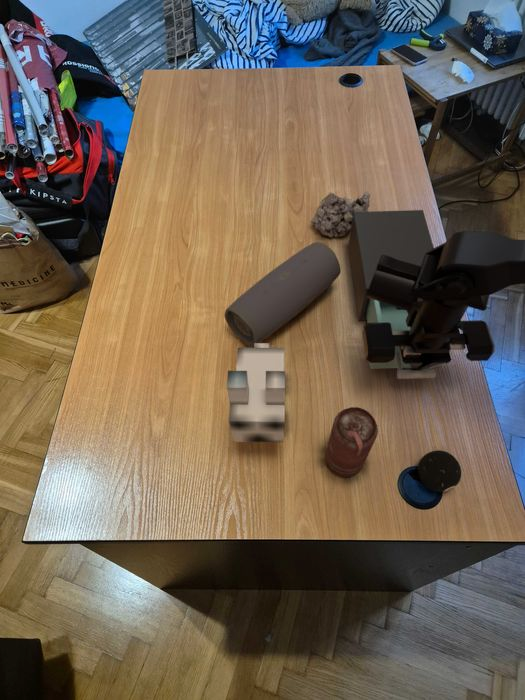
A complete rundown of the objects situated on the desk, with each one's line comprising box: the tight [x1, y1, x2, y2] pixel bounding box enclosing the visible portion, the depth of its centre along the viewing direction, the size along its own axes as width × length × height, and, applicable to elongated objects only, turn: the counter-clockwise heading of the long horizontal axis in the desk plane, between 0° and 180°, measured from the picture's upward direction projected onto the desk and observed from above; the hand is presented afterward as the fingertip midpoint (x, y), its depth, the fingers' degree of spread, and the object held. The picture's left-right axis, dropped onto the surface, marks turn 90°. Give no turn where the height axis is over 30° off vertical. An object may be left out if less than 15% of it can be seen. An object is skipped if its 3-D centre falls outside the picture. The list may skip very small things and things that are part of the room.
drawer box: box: [347, 209, 435, 322], centre depth 91 cm, size 20×14×10 cm
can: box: [324, 406, 379, 478], centre depth 69 cm, size 6×6×14 cm
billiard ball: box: [417, 449, 462, 493], centre depth 71 cm, size 6×6×6 cm
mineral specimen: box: [309, 191, 371, 238], centre depth 101 cm, size 12×9×10 cm
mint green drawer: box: [365, 298, 443, 380], centre depth 83 cm, size 23×12×8 cm, turn 1°
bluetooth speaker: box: [224, 241, 341, 347], centre depth 88 cm, size 23×9×10 cm, turn 134°
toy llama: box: [226, 342, 286, 443], centre depth 72 cm, size 8×18×20 cm, turn 179°
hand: (413, 368), depth 78 cm, fingers closed, pressing on mint green drawer
